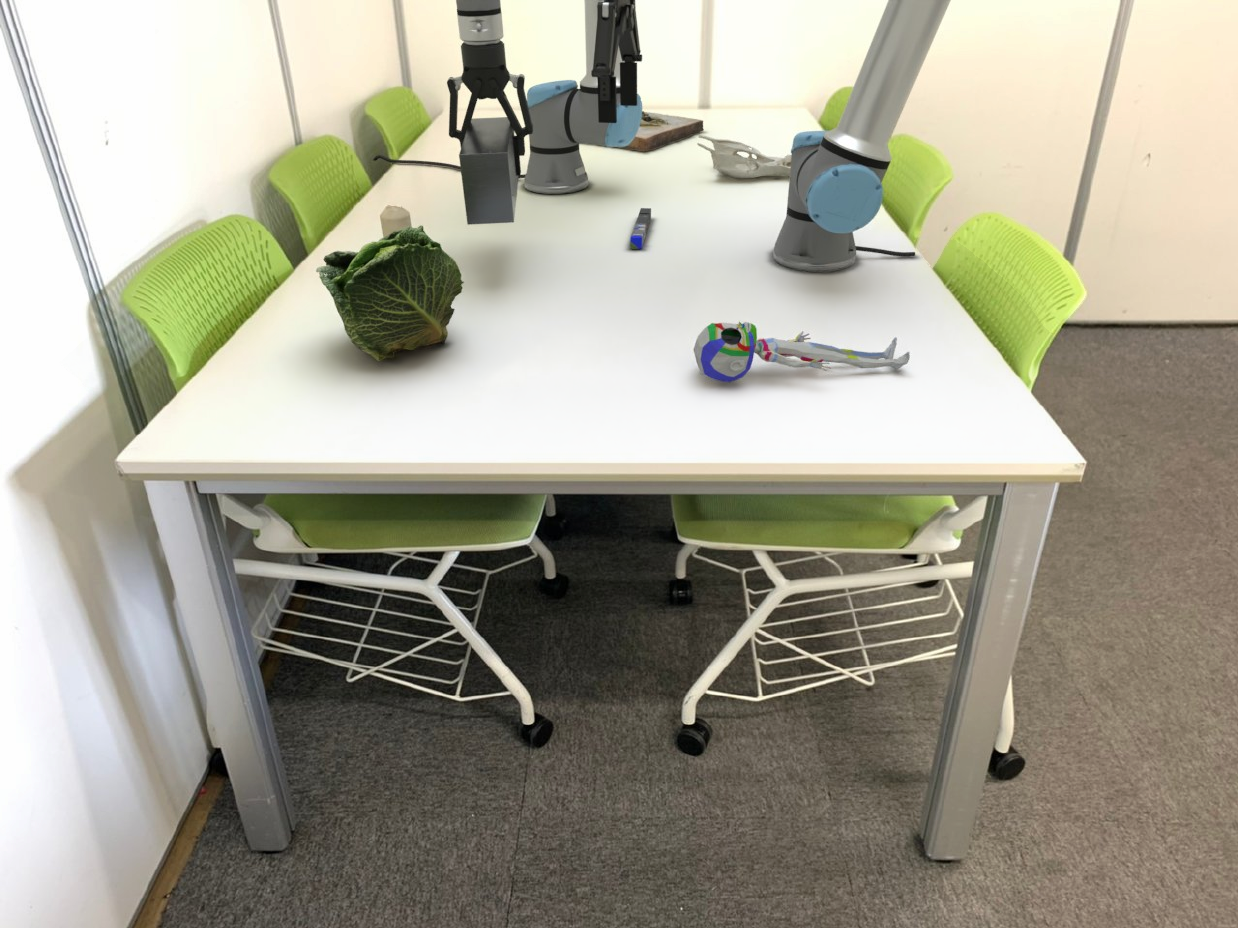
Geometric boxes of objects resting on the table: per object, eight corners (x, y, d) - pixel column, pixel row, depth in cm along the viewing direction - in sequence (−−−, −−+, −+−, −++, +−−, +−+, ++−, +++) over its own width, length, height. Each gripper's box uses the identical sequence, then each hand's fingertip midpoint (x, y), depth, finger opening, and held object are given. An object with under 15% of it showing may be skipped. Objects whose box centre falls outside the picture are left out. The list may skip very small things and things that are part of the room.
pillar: (651, 208, 191) (641, 238, 174) (650, 218, 192) (641, 249, 175) (640, 208, 191) (630, 238, 174) (640, 218, 192) (630, 249, 175)
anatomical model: (699, 131, 223) (801, 130, 220) (699, 169, 228) (798, 168, 225) (695, 146, 211) (802, 144, 207) (695, 185, 216) (799, 184, 212)
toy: (920, 350, 124) (709, 333, 119) (901, 404, 128) (697, 389, 123) (893, 321, 132) (695, 304, 127) (877, 373, 137) (685, 357, 132)
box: (477, 181, 172) (470, 118, 165) (518, 179, 172) (512, 116, 166) (467, 224, 151) (458, 154, 144) (514, 222, 151) (507, 152, 145)
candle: (421, 255, 174) (414, 203, 169) (406, 264, 170) (398, 212, 164) (396, 252, 176) (388, 201, 170) (381, 261, 171) (372, 209, 166)
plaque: (647, 125, 237) (559, 112, 252) (647, 153, 241) (560, 139, 256) (706, 107, 258) (622, 97, 273) (705, 133, 262) (622, 121, 277)
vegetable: (383, 372, 146) (305, 267, 139) (481, 306, 148) (409, 199, 140) (387, 399, 128) (297, 280, 120) (499, 324, 129) (417, 201, 122)
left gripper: (419, 47, 151) (437, 182, 164) (541, 42, 152) (551, 178, 165) (424, 40, 158) (442, 171, 170) (542, 35, 158) (551, 166, 171)
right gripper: (620, -33, 121) (622, 131, 132) (659, -44, 141) (658, 99, 152) (567, -33, 122) (573, 129, 134) (613, -44, 143) (615, 98, 154)
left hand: (495, 174), depth 167 cm, fingers closed on box, 8 cm apart
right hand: (618, 114), depth 143 cm, fingers open, 13 cm apart
